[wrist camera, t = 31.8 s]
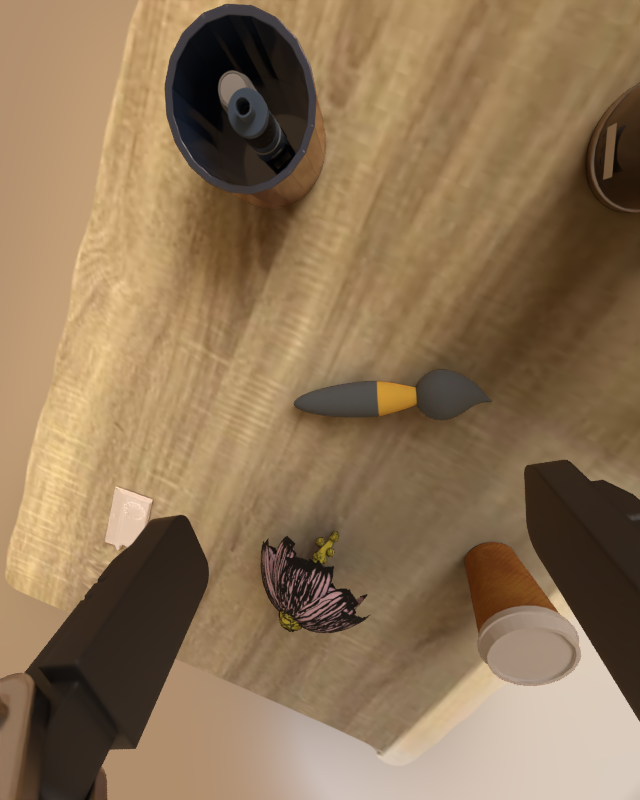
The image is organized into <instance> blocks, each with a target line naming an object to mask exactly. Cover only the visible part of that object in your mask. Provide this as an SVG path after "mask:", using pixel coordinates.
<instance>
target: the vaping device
mask: <svg viewBox="0 0 640 800" xmlns="http://www.w3.org/2000/svg"><path fill="white" fill-rule="evenodd" d="M218 93H219V97H220V102H221V105H222V107H223V108H224V110H225V112H226V113H227V115H228V118H229V121H230V124H231V126H232V127H233V129H234V130H235V131H236V132H237V133H238V134H239V135H240V136H241V137H242V138H243V139H244V140H245V141H246V142H247V144H248V145H249V146H250V147H251V149H252V150H253V151H254V152H255V153H256V154H257V155H258V156H259V158H260V159H261V160H262V161H264V162H265V163H266V164H267V165H268V166H269V167H270V168H271V169H272V170H273V171H274V172H275V173H276V174H278V173H280V172H281V171H282V170H284V169H285V168H286V167H287V166H288V164H289V163H290V161H291V160H292V159H293V157H294V156H295V152H294V151H293V149H292V147H291V145H290V144H289V142H288V140H287V136H286V134H285V132H284V131H283V129H282V128H281V126H280V125H279V123H278V121H277V120H276V118H275V117H274V115H273V114H272V112H271V110H270V109H269V107H268V106H267V104H266V103H265V101H264V99H263V97H262V96H261V95H260V93H259V92H258V90H257V89H256V87H255V85H254V84H253V82H252V81H251V80H250V79H249V78H248V77H247V76H246V75H244V74H242V73H239V72H237V71H233V70H232V71H227V72H226V73H224V74H223V75H222V77H221V78H220V81H219V84H218Z"/></svg>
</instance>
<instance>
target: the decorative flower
mask: <svg viewBox="0 0 640 800" xmlns="http://www.w3.org/2000/svg"><path fill="white" fill-rule="evenodd" d="M338 538H339V534H338V532H332V533H331V536H330V540H329V541H328V542H327V543H326V544H325V545H324V539H323V537H321V538H317V540H316V544H317V545H318V546H319V547H320V546H323V545H324V546H323V547H322V548H321V549H320V550H319V551H318V552H315V553H314V554H313V558H314V559H313V560H312V559H309V561H307V560H305V559H303V558H297V557H296V552H295V549H294V545H295V543H294V542H293V541H292V540H291V539H290V538H288V536H287V537H285V538H284V539H283V540H282V541H281V543H280V545H279V547H278V549H277V550H276V548H273V547H272V546H269V543H268V539H267V541H266V542H265V543H264V541H263V545H262V551H261V574H262V580H263V584H264V588H265V591H266V593H267V595H268V598H269V599H270V601H271V603H272V604H273V605H274V607H275V608H276V609H277V610H278V611H279V621H280V624H281V626H282V627H283V628H285V629H286V630H288V631H289V632H291V631H292V632H293V631H297V630H300V629H301V628H302V627H303V628H304V629H307V630H309V631H312V632H316V633H334V632H338V631H342V630H345V629H348V628H351V627H353V626H355V625H357V624H359V623H361V622H362V621H364V620H365V619H366V618H368V617H369V616H370V615H369V616H367V617H364V618H361V617H359V616H358V617H357V616H355V615H354V614H356V611H355V609H356V608H357V607H358V606H359V605H360V604H361V603H362V601H363V600H364V599H365V597H366V596H367V594H366V595H363V596H360V598H358V599H355V597H354V596H353V594H351V592H350V589H349V590H347V589H335V586H334V585H333V583H332V584H331V582H332V578H333V569H334V566H332V567H324V566H323V565H322V564H325V563H326V562H327V558H326V555H327V556H328V557H332V556H333V555H334V553H335V552H334V549H332V548H331V547H332V544H333V543H334V542H337V541H338Z"/></svg>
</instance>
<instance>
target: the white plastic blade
mask: <svg viewBox="0 0 640 800" xmlns="http://www.w3.org/2000/svg"><path fill="white" fill-rule="evenodd" d="M152 502H153V500H152V499H149V498H147V497H144V496H141V495H138V494H136V493H133V492H130V491H127V490H125V489H122V488H119V487H115V492H114V497H113V502H112V507H111V513H110V518H109V523H108V528H107V534H106V539H105V542H106V543H109V544H112V545H115V546H116V549H117V550H119V549H120V548H121V547H122V546H123V545H125V546H126V548H128V547H129V546H130V545H131V544H132V543H133V542H134V541H135V539H136V538H137V537H138V535H139V534H140V533H141V532H142V530H143V529H144V528H145V526H146V525H147V523H148V521H149V520H148V519H149V517H150V516H149V514H150V510H151V506H152Z"/></svg>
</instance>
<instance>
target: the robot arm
mask: <svg viewBox="0 0 640 800" xmlns="http://www.w3.org/2000/svg"><path fill="white" fill-rule="evenodd" d="M586 171H587V178H588V182H589V185H590V187H591V189H592V191H593V193H594V195H595V196H596V197H597V199H598V200H599V201H600V202H601V203H603V204H604V205H605V206H607V207H609V208H611V209H613V210H616V211H619V212H625V213H636V212H640V83H638V84H636V85H635V86H633V87H632V88H630V89H629V90H627V91H626V92H625V93H623V94H622V95H621V96H620V97H619V98H618V99H617V100H616V101H615V102H614V103H613V104H612V105H611V106H610V107H609V109H608V110H607V111H606V112H605V114H604V115H603V117H602V118H601V120H600V122H599V123H598V125H597V127H596V129H595V131H594V133H593V136H592V138H591V141H590V144H589V148H588V153H587V161H586ZM524 478H525V501H526V522H527V529H528V533H529V536H530V540H531V542H532V545H533V547H534V549H535V551H536V553H537V555H538V556H539V558H540V560H541V561H542V563H543V565H544V566H545V568H546V569H547V571H548V573H549V574H550V576H551V578H552V579H553V581H554V583H555V584H556V586H557V587H558V589H559V591H560V592H561V594H562V596H563V597H564V599H565V600H566V602H567V604H568V605H569V607H570V609H571V610H572V612H573V614H574V615H575V617H576V618H577V620H578V622H579V623H580V625H581V627H582V628H583V630H584V631H585V633H586V635H587V636H588V638H589V640H590V641H591V643H592V645H593V646H594V648H595V649H596V651H597V652H598V654H599V656H600V658H601V659H602V661H603V662H604V664H605V666H606V667H607V669H608V671H609V672H610V674H611V676H612V677H613V679H614V680H615V682H616V684H617V685H618V687H619V689H620V690H621V692H622V694H623V695H624V697H625V698H626V700H627V702H628V703H629V705H630V707H631V708H632V710H633V712H634V713H635V715H636V716H637V718H638V720H639V721H640V500H639V499H638V498H637V497H636V496H635V495H633V494H631V493H629V492H627V491H625V490H623V489H621V488H619V487H617V486H615V485H613V484H611V483H608V482H606V481H604V480H599V481H590V480H589V479H588V478H587V477H586V476H585V475H584V474H583V473H582V472H580V471H579V470H578V469H577V468H576V467H575V466H574V465H573V464H572V463H571V462H570V461H568V460H559V461H552V462H546V463H539V464H532V465H527V466H526V467H525V472H524ZM208 578H209V567H208V562H207V559H206V557H205V555H204V553H203V550H202V548H201V546H200V544H199V541H198V539H197V537H196V535H195V533H194V530H193V528H192V526H191V524H190V522H189V520H188V518H187V517H186V516H184V515H178V516H171V517H164V518H157V519H153V520H151V521H150V522H149V523H148V524H147V525H146V526H145V528H144V529H143V530H142V532H141V533H140V534H139V535H138V537H137V538H136V539H135V541H134V542H133V543H132V544H131V545H130V546H129V547H128V548H126V549H125V550H124V551H123V552H122V553H121V554H119V555H118V556H117V557H116V558H115V559H114V560H113V561H112V562H111V563H110V564H109V566H108V567H107V568H106V569H105V571H104V572H103V573H102V575H101V576H100V577H99V578H98V583H95V584H94V585H93V586H92V587H91V589H90V590H89V591H88V592H87V594H86V595H85V599H84V600H82V601H80V603H79V604H78V605H77V607H76V608H75V609H74V610H73V612H72V613H71V614H70V615H69V617H68V618H67V619H66V621H65V622H64V623H63V625H62V626H61V627H60V629H58V631H57V632H56V633H55V635H54V636H53V637H52V638H51V640H50V641H49V642H48V644H47V645H46V646H45V647H44V649H43V650H42V651H41V652H40V654H39V655H38V657H37V658H36V659H35V660H34V661H33V663H32V664H31V665H30V666H29V668H28V669H27V670H26V671H25V673H17V674H12V675H9V676H6V677H4V678H1V679H0V800H107V780H106V774H105V771H104V769H103V768H102V767H101V766H102V764H103V762H104V760H105V758H106V756H107V754H108V751H109V750H110V749H136V747H137V745H138V742H139V740H140V737H141V736H142V733H143V731H144V729H145V726H146V724H147V722H148V720H149V717H150V715H151V712H152V710H153V708H154V706H155V704H156V701H157V699H158V697H159V695H160V692H161V690H162V688H163V685H164V683H165V681H166V678H167V676H168V674H169V672H170V669H171V667H172V665H173V663H174V660H175V658H176V656H177V654H178V651H179V649H180V647H181V644H182V642H183V640H184V638H185V635H186V633H187V631H188V628H189V626H190V624H191V622H192V619H193V617H194V615H195V613H196V610H197V608H198V606H199V603H200V601H201V599H202V597H203V594H204V592H205V590H206V587H207V584H208Z"/></svg>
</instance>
